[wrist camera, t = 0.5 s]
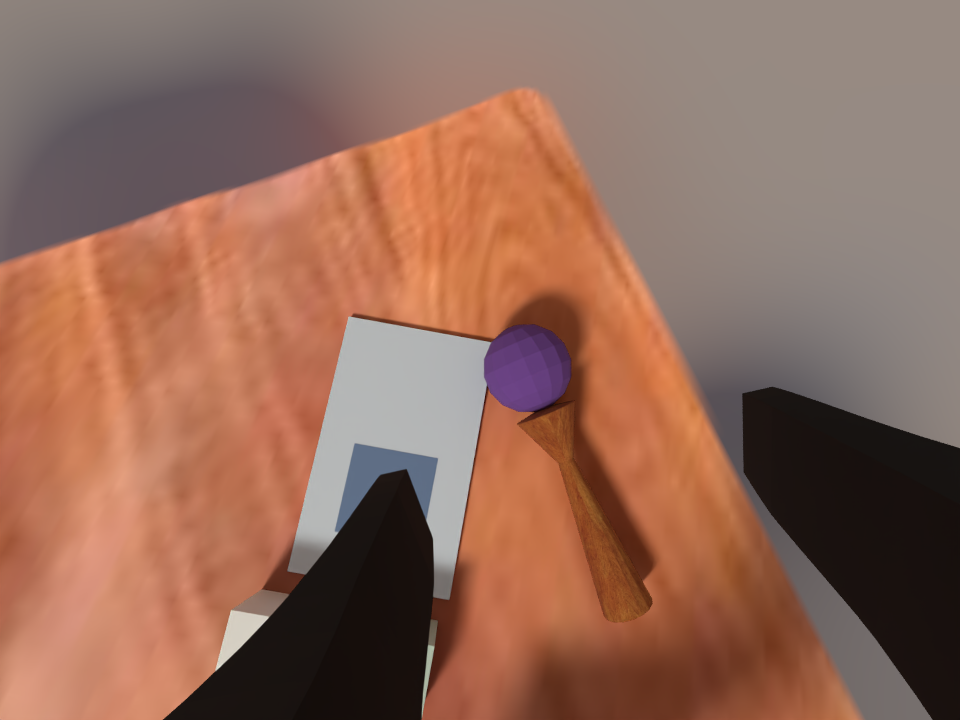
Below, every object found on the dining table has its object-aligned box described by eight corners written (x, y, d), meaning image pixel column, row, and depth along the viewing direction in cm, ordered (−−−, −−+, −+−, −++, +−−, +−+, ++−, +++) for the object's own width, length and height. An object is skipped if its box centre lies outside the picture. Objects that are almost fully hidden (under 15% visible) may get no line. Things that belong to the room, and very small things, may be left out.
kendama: (591, 647, 29) (465, 341, 30) (580, 602, 34) (475, 348, 36) (686, 612, 28) (552, 304, 30) (658, 573, 34) (548, 317, 36)
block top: (317, 683, 31) (294, 721, 27) (242, 670, 31) (206, 705, 27) (335, 601, 32) (316, 624, 28) (262, 588, 32) (231, 610, 28)
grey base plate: (449, 598, 32) (449, 600, 32) (289, 569, 32) (287, 571, 32) (493, 344, 36) (494, 342, 36) (349, 317, 36) (348, 316, 35)
